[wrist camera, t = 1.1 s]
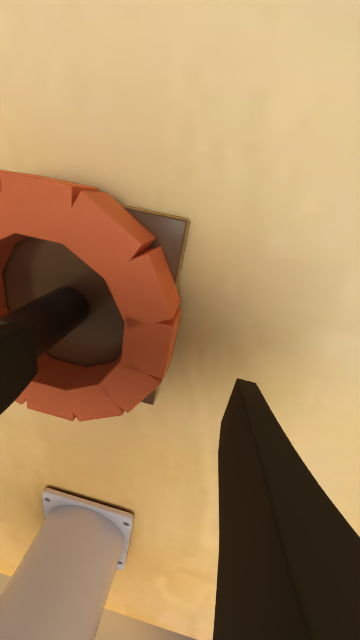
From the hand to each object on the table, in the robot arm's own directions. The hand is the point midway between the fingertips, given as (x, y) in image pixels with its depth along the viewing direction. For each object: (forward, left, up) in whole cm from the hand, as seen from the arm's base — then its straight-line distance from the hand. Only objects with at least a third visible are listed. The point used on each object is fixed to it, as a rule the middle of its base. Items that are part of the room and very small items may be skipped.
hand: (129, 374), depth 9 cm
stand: (0, +5, -5) cm, 7 cm away
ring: (0, +5, -4) cm, 6 cm away
